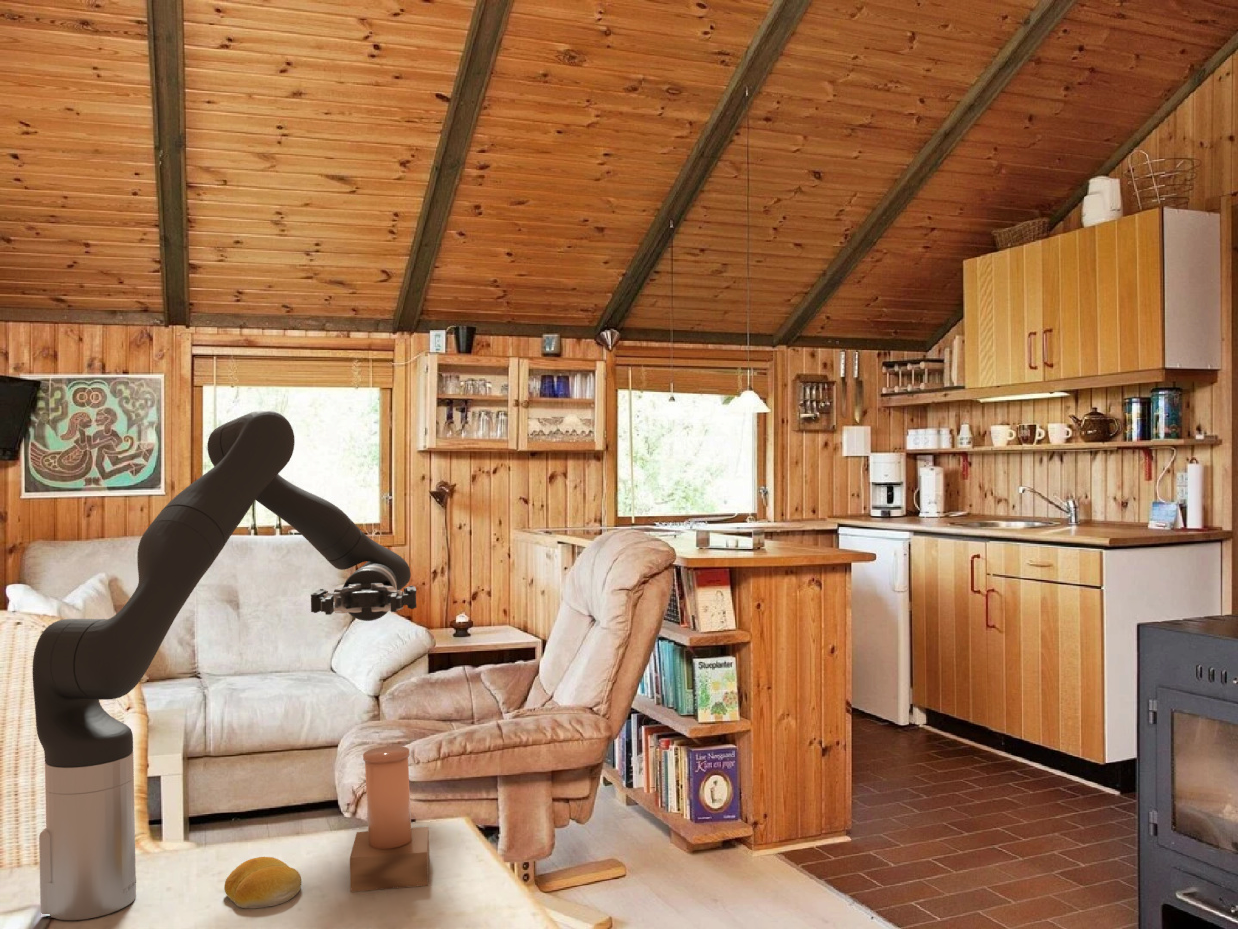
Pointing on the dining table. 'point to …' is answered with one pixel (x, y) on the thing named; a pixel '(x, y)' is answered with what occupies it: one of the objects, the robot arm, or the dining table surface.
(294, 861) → the dining table surface
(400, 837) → the jar
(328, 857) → the dining table surface
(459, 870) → the dining table surface
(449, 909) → the dining table surface
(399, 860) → the plinth
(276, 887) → the bread roll
